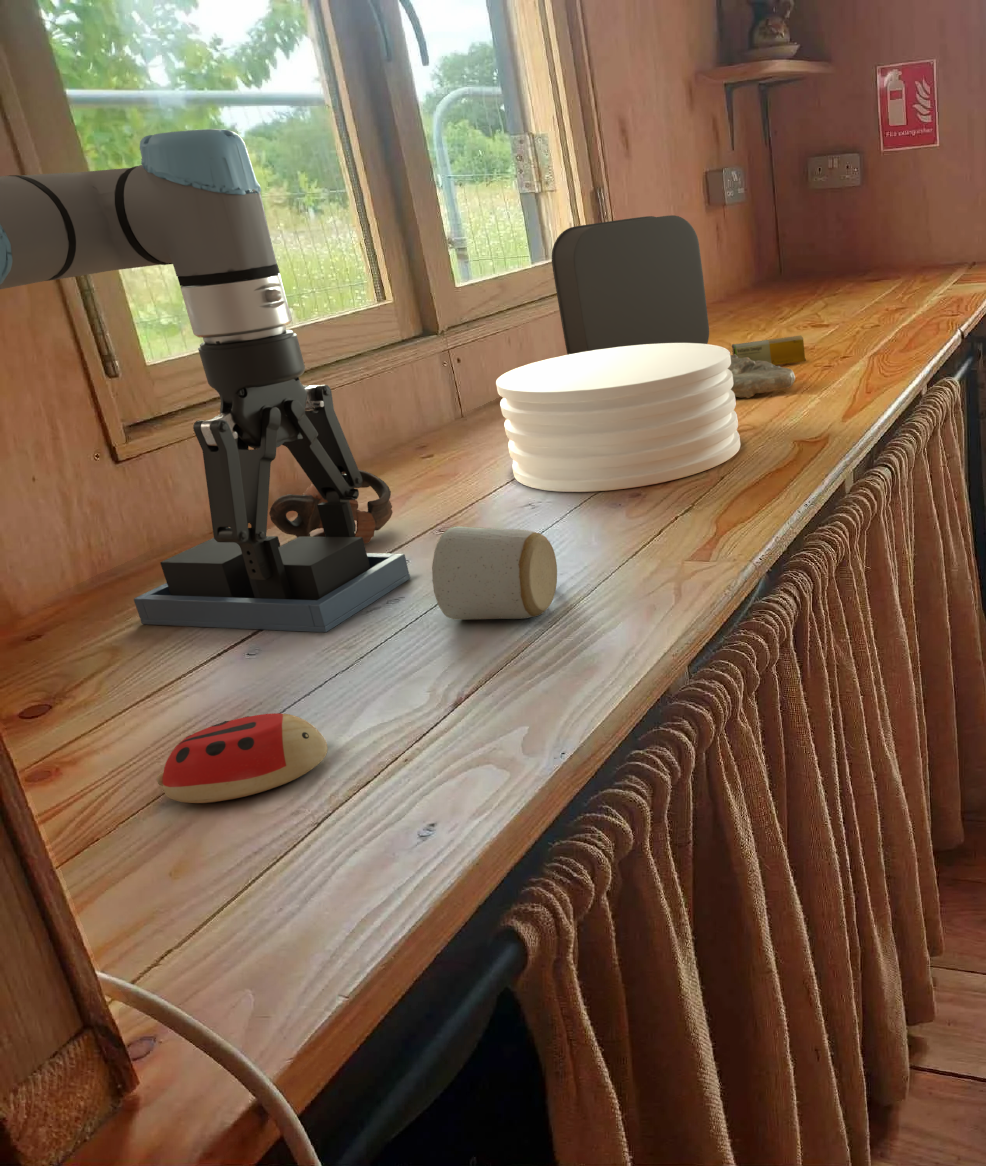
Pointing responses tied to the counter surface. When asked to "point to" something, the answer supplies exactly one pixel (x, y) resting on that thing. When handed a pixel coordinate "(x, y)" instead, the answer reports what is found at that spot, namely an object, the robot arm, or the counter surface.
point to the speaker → (630, 284)
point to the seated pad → (209, 571)
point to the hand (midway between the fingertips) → (316, 589)
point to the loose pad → (320, 565)
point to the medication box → (772, 350)
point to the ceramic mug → (493, 573)
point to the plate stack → (620, 416)
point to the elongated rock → (758, 377)
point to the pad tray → (277, 603)
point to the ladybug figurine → (241, 758)
